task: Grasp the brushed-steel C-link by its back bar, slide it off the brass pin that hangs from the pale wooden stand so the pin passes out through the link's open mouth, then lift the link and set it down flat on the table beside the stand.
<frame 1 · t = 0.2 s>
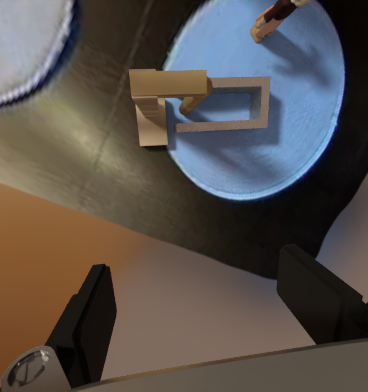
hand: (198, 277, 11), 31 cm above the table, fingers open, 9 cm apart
steel C-link: (215, 108, 38), on the table
grandmother figurine: (259, 32, 36), on the table
pin stand: (151, 111, 37), on the table
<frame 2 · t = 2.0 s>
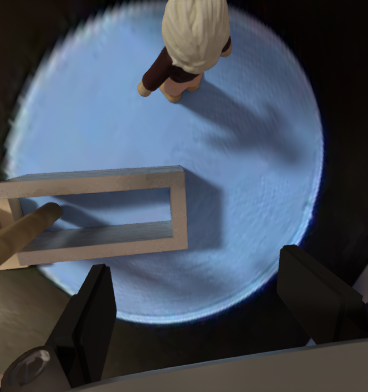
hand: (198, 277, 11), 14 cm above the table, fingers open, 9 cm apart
steel C-link: (111, 204, 23), on the table
grandmother figurine: (175, 84, 21), on the table
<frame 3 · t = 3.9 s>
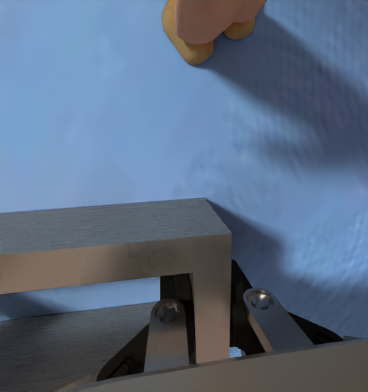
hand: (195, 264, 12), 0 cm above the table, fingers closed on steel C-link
steel C-link: (68, 275, 12), on the table, touching gripper
grandmother figurine: (200, 25, 9), on the table
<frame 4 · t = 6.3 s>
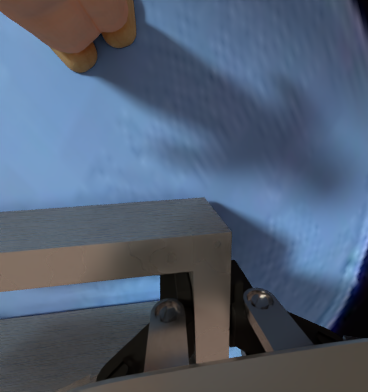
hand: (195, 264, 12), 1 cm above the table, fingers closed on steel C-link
steel C-link: (68, 273, 12), point 1 cm above the table, touching gripper
grandmother figurine: (83, 33, 10), on the table
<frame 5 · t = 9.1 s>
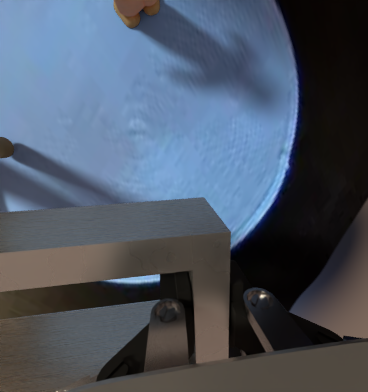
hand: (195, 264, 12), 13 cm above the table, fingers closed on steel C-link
steel C-link: (69, 273, 12), point 13 cm above the table, touching gripper
grandmother figurine: (133, 8, 19), on the table
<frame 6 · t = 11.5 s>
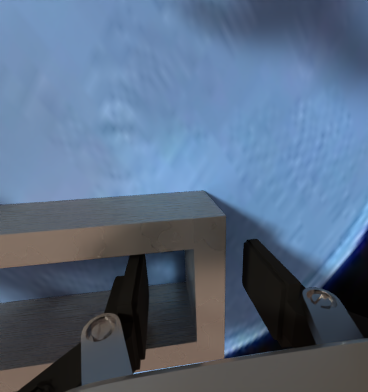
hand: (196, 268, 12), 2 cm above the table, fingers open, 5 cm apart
steel C-link: (82, 259, 13), on the table
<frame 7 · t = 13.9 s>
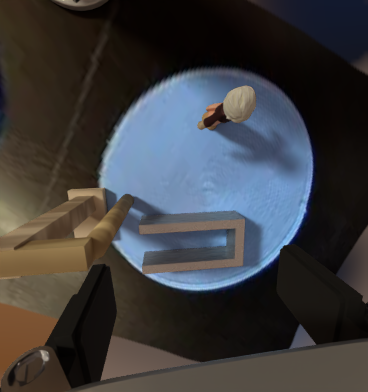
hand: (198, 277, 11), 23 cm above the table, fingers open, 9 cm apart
steel C-link: (189, 234, 35), on the table
grandmother figurine: (212, 118, 32), on the table
pin stand: (90, 200, 32), on the table
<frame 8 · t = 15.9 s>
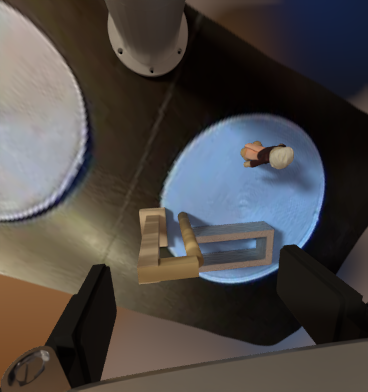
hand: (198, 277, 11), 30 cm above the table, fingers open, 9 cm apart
steel C-link: (227, 240, 45), on the table
grandmother figurine: (248, 152, 41), on the table
pin stand: (153, 217, 42), on the table
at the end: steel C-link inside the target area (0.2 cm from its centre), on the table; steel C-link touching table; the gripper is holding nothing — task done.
